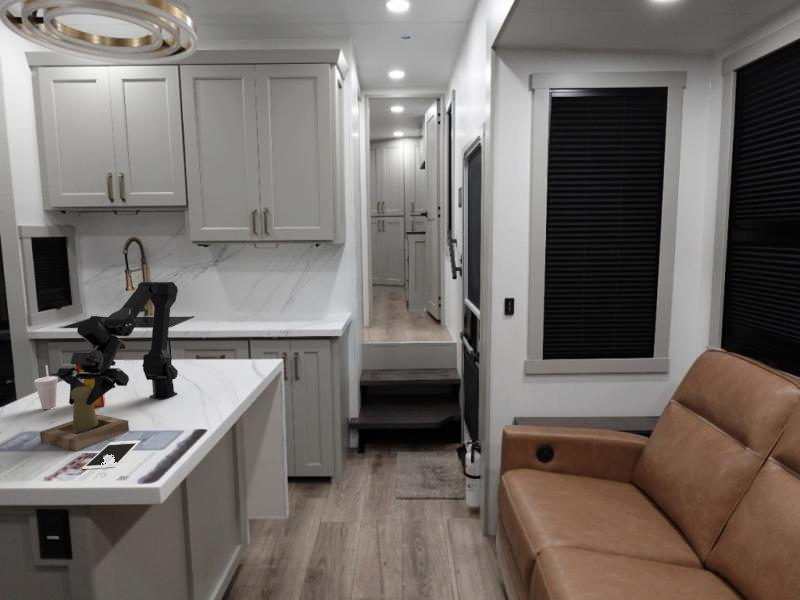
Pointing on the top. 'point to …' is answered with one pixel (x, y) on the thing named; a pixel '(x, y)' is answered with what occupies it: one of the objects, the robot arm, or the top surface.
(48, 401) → the smoothie
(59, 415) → the top surface
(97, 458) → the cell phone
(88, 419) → the cork
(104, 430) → the walnut socket
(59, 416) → the top surface
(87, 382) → the baking soda box
